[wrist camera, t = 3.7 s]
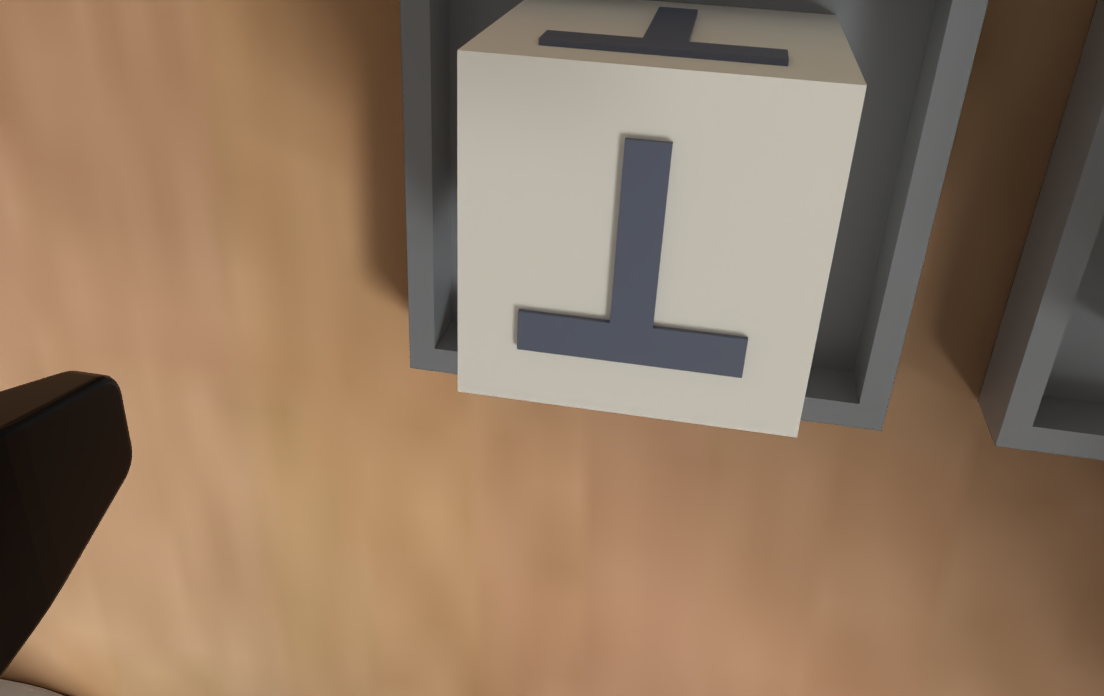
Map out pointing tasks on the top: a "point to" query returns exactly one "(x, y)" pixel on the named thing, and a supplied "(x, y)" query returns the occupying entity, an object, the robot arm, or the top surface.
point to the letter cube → (651, 206)
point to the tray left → (868, 210)
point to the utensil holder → (23, 689)
